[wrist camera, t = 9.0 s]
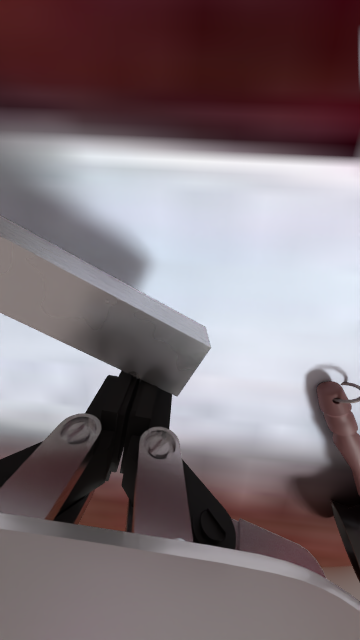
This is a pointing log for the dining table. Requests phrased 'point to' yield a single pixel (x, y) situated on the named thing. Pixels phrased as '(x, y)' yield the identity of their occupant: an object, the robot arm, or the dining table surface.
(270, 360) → the dining table surface
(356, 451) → the black dustpan
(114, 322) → the swing arm
